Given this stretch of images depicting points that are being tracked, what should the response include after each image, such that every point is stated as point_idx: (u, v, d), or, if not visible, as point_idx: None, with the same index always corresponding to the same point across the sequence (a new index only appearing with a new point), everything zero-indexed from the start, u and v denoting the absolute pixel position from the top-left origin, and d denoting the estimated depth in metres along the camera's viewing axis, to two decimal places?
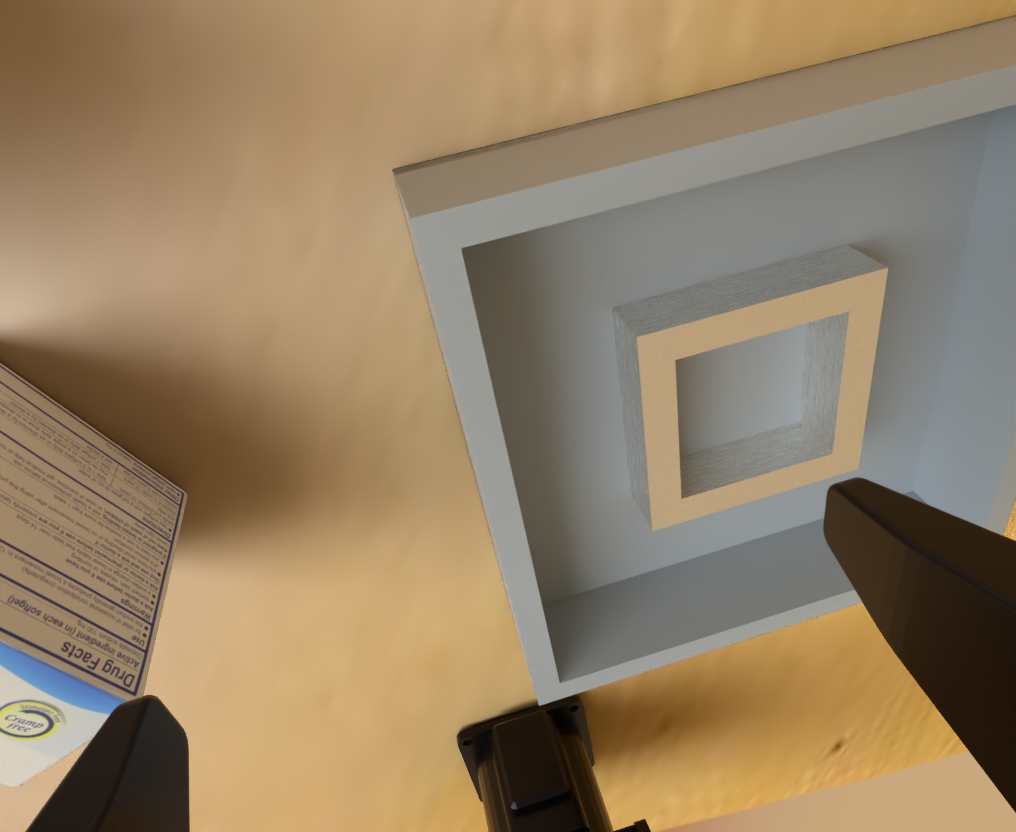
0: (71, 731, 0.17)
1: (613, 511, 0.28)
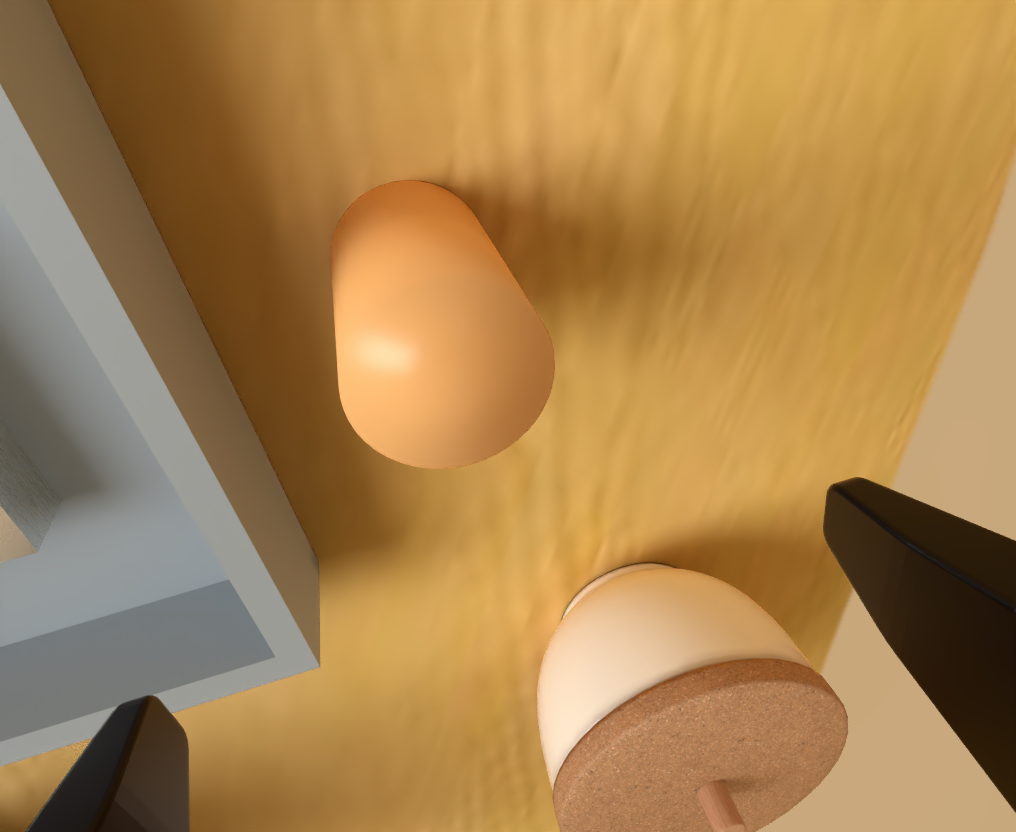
0: None
1: None
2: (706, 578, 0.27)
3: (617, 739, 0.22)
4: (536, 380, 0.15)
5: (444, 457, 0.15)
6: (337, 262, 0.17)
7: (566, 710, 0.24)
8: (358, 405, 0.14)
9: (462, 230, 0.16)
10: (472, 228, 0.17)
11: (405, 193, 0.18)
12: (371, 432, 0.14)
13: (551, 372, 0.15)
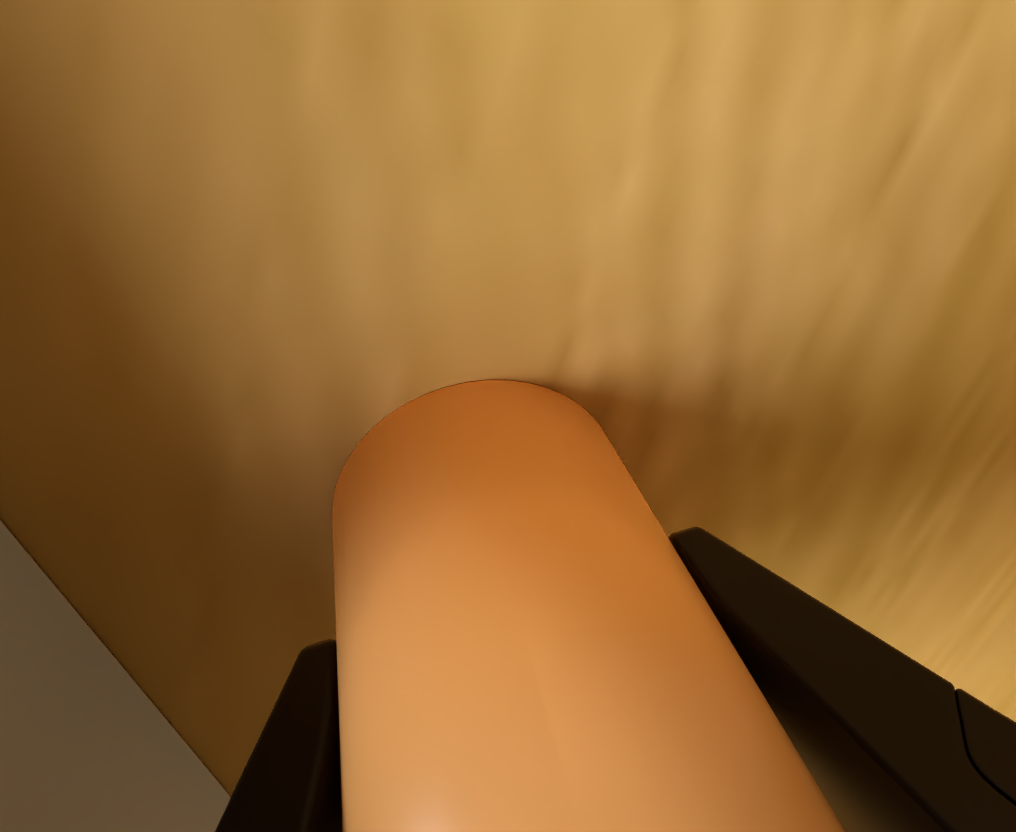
0: None
1: None
2: None
3: None
4: None
5: None
6: (346, 599, 0.08)
7: None
8: None
9: (639, 580, 0.07)
10: (647, 546, 0.07)
11: (485, 431, 0.09)
12: None
13: None
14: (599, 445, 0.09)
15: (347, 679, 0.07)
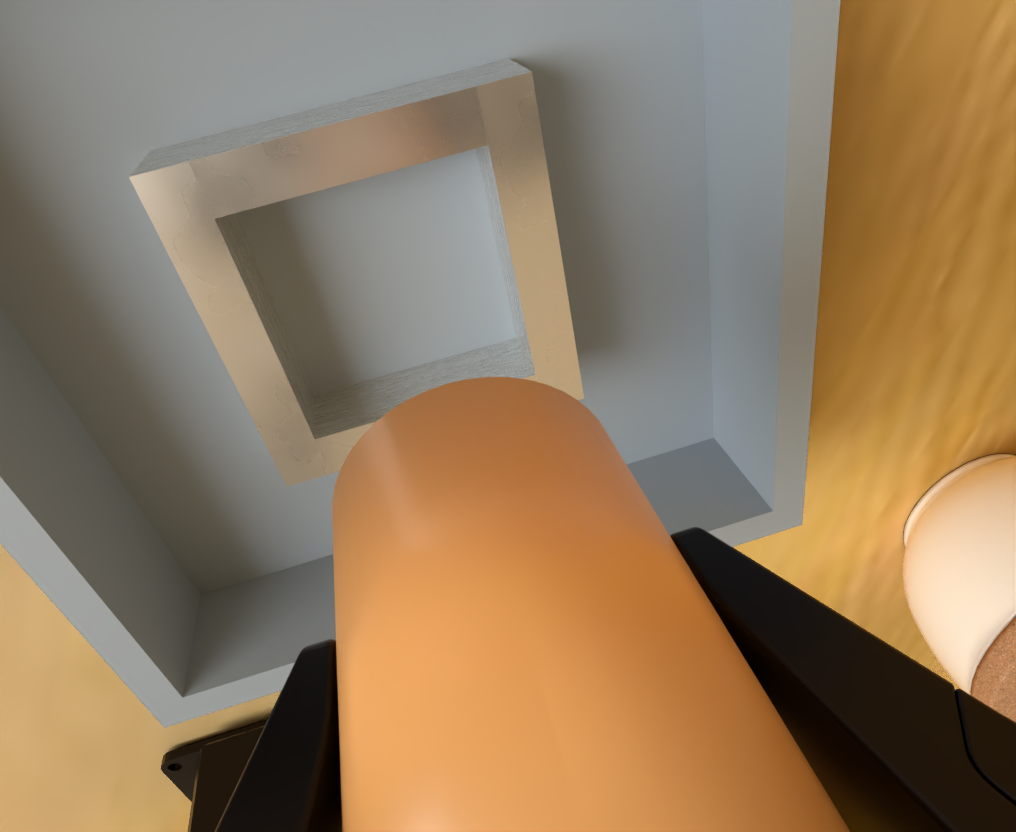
0: None
1: (271, 464, 0.21)
2: None
3: None
4: None
5: None
6: (346, 597, 0.08)
7: (997, 578, 0.24)
8: None
9: (641, 577, 0.07)
10: (648, 543, 0.07)
11: (486, 428, 0.09)
12: None
13: None
14: (600, 442, 0.09)
15: (347, 677, 0.07)
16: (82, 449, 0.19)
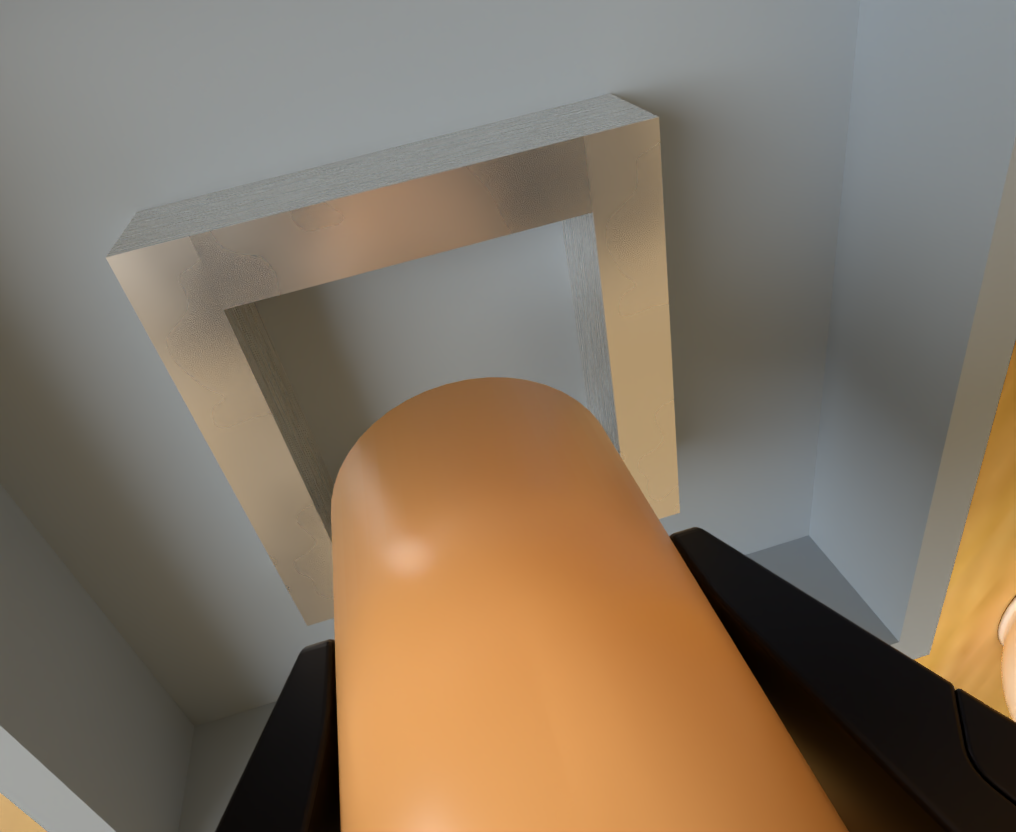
0: None
1: None
2: None
3: None
4: None
5: None
6: (345, 598, 0.08)
7: None
8: None
9: (641, 579, 0.07)
10: (648, 544, 0.07)
11: (485, 428, 0.09)
12: None
13: None
14: (600, 442, 0.09)
15: (345, 678, 0.07)
16: (46, 579, 0.15)
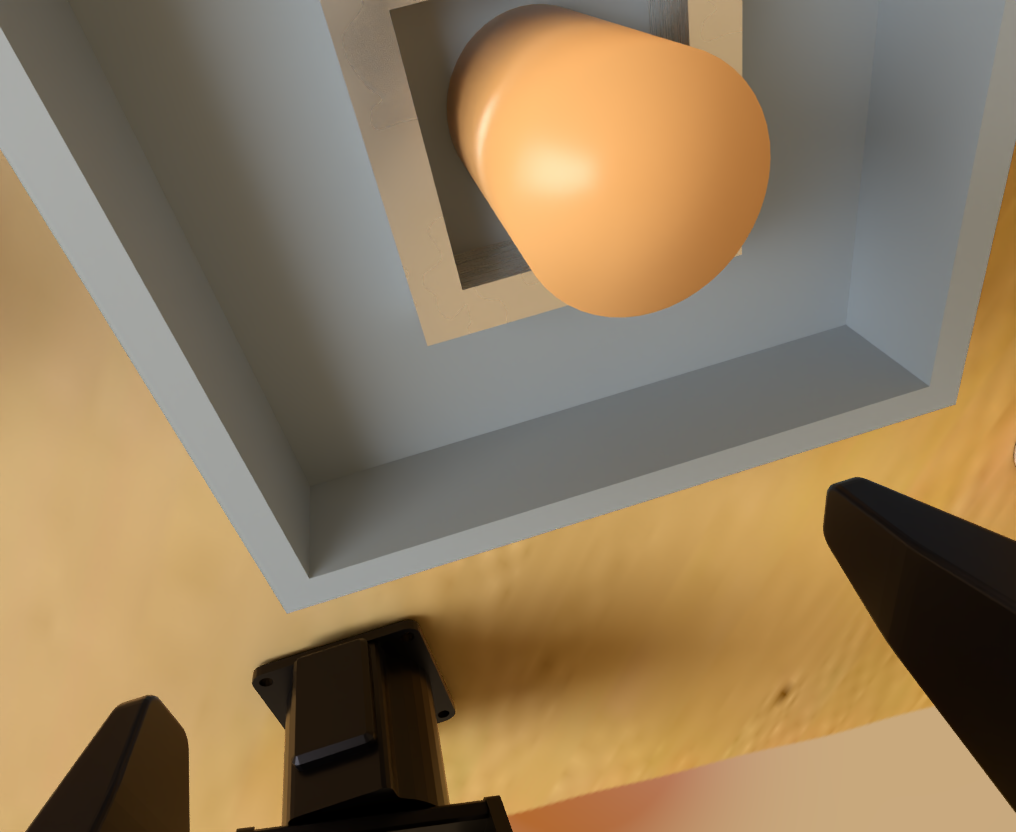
0: None
1: (396, 336, 0.20)
2: None
3: None
4: (744, 198, 0.12)
5: (624, 302, 0.13)
6: (472, 87, 0.14)
7: None
8: (533, 225, 0.11)
9: None
10: None
11: (546, 9, 0.15)
12: (544, 264, 0.12)
13: (763, 188, 0.12)
14: None
15: (479, 102, 0.14)
16: (209, 304, 0.17)
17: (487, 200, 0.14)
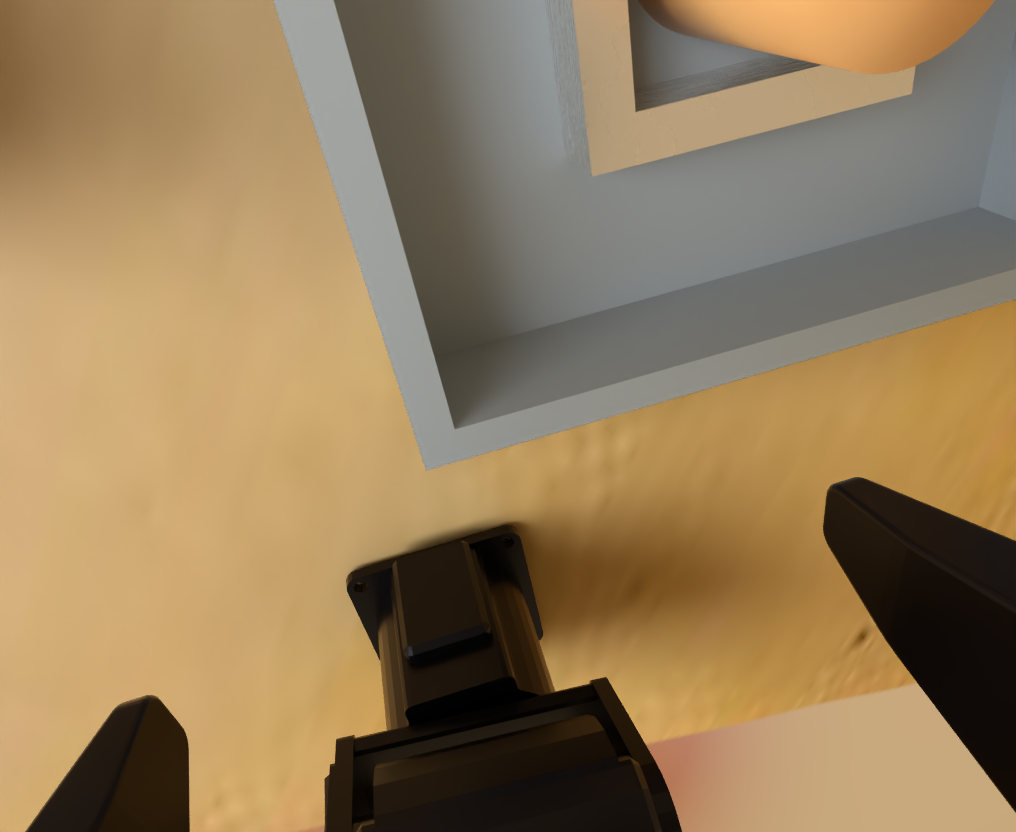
0: None
1: (540, 186, 0.19)
2: None
3: None
4: None
5: (873, 54, 0.12)
6: None
7: None
8: None
9: None
10: None
11: None
12: None
13: None
14: None
15: None
16: None
17: None
